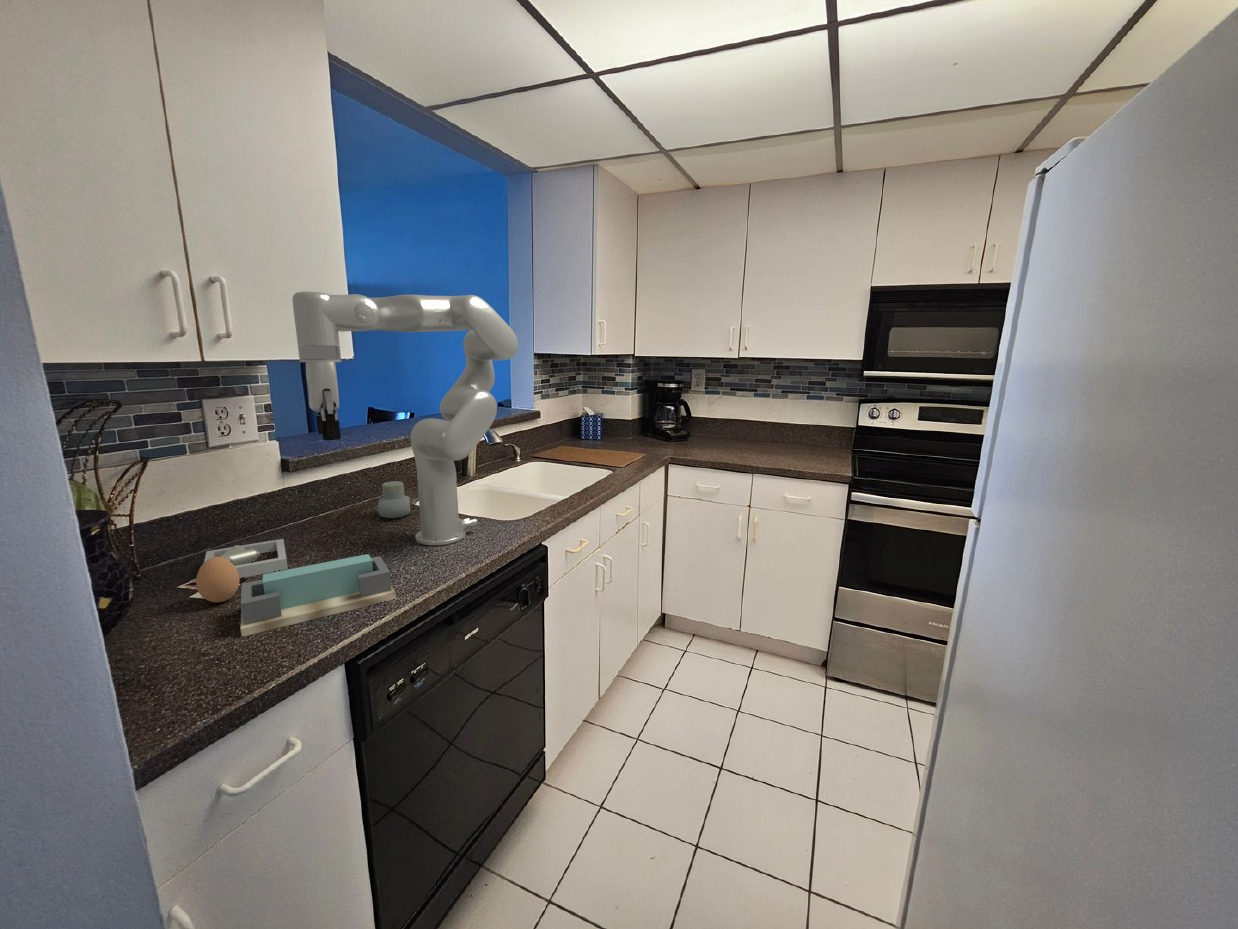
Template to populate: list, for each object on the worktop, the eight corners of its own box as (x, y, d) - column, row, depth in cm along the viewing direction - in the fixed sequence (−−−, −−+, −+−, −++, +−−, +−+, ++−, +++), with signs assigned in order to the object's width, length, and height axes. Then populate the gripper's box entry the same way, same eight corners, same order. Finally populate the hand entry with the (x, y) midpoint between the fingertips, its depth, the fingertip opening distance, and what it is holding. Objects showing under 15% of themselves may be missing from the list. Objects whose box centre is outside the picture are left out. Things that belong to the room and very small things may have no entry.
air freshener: (381, 511, 157) (378, 480, 155) (410, 509, 160) (408, 478, 158) (378, 522, 147) (375, 489, 145) (409, 519, 150) (407, 486, 148)
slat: (371, 581, 107) (368, 554, 106) (374, 588, 104) (372, 560, 102) (267, 604, 97) (262, 574, 95) (267, 612, 94) (263, 582, 92)
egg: (244, 590, 105) (237, 548, 103) (240, 604, 100) (233, 560, 98) (203, 598, 102) (195, 555, 100) (197, 612, 96) (188, 567, 94)
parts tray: (284, 548, 128) (283, 538, 127) (287, 569, 116) (286, 558, 115) (208, 561, 119) (206, 551, 119) (203, 585, 107) (201, 574, 107)
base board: (383, 577, 112) (383, 571, 112) (396, 599, 102) (395, 592, 102) (242, 608, 98) (241, 601, 98) (241, 637, 88) (240, 629, 88)
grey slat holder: (381, 573, 110) (380, 556, 110) (391, 590, 103) (389, 571, 102) (244, 603, 97) (241, 583, 96) (244, 625, 89) (240, 604, 88)
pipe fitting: (262, 560, 122) (230, 560, 120) (261, 544, 121) (229, 544, 120) (247, 573, 114) (212, 574, 113) (246, 557, 114) (210, 557, 112)
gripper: (296, 354, 111) (305, 432, 115) (302, 355, 97) (312, 444, 101) (335, 354, 115) (343, 430, 119) (346, 355, 101) (355, 441, 105)
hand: (329, 436), depth 110 cm, fingers open, 9 cm apart
